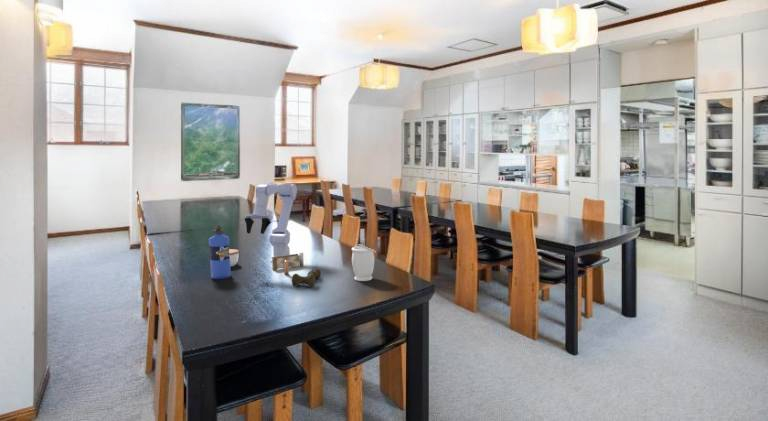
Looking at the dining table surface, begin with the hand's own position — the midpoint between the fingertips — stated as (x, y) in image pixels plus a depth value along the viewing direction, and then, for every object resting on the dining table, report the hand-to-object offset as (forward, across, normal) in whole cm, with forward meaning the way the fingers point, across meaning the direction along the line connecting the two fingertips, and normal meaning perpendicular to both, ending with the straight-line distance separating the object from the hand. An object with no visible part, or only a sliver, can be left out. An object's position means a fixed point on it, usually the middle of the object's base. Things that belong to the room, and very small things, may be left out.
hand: (255, 233), depth 222 cm
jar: (+18, +55, +10) cm, 59 cm away
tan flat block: (+12, +10, +19) cm, 25 cm away
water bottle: (+22, -14, +1) cm, 26 cm away
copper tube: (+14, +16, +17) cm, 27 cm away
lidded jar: (+14, -23, +18) cm, 32 cm away
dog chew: (+24, +32, -1) cm, 40 cm away
